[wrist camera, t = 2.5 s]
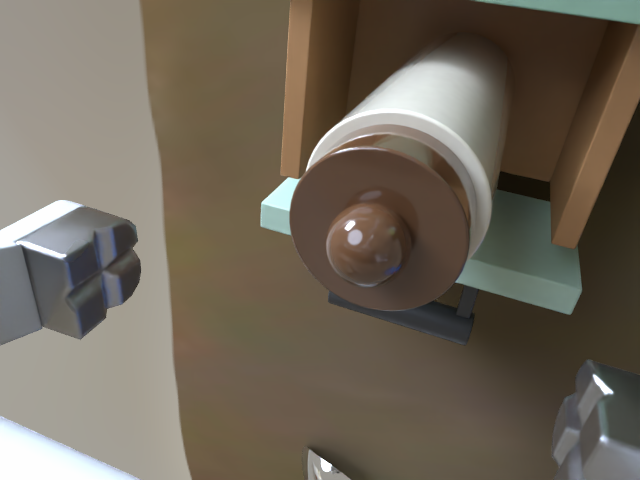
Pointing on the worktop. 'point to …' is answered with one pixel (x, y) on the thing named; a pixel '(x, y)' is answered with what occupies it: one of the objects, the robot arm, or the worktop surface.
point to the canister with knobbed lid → (408, 178)
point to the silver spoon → (319, 467)
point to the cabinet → (582, 8)
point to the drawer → (522, 137)
